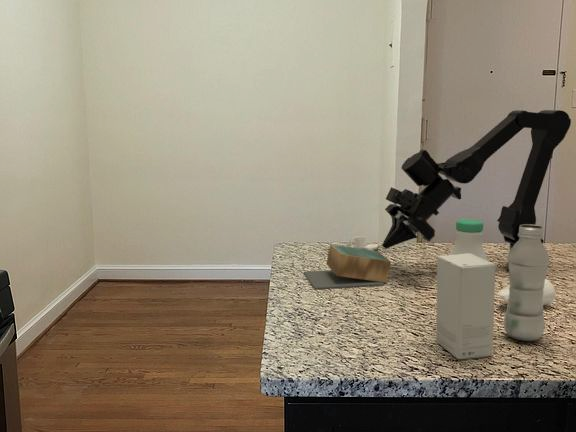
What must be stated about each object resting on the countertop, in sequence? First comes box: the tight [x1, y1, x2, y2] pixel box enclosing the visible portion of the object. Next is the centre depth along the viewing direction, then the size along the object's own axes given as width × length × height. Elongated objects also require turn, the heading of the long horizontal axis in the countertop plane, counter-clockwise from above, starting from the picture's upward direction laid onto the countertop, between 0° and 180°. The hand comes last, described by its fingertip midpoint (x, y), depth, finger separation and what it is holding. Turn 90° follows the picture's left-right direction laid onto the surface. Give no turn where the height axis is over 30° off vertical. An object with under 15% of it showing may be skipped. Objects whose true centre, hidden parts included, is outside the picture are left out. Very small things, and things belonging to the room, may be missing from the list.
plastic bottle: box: [503, 224, 550, 342], centre depth 101 cm, size 6×7×20 cm
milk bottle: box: [448, 218, 489, 261], centre depth 106 cm, size 8×8×20 cm
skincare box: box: [435, 253, 497, 360], centre depth 97 cm, size 8×7×16 cm
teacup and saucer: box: [349, 235, 379, 251], centre depth 165 cm, size 9×8×4 cm
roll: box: [496, 278, 557, 306], centre depth 118 cm, size 6×12×6 cm, turn 112°
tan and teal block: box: [325, 243, 392, 283], centre depth 137 cm, size 5×10×12 cm
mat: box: [303, 269, 385, 290], centre depth 137 cm, size 16×13×1 cm
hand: (383, 247), depth 137 cm, fingers closed
